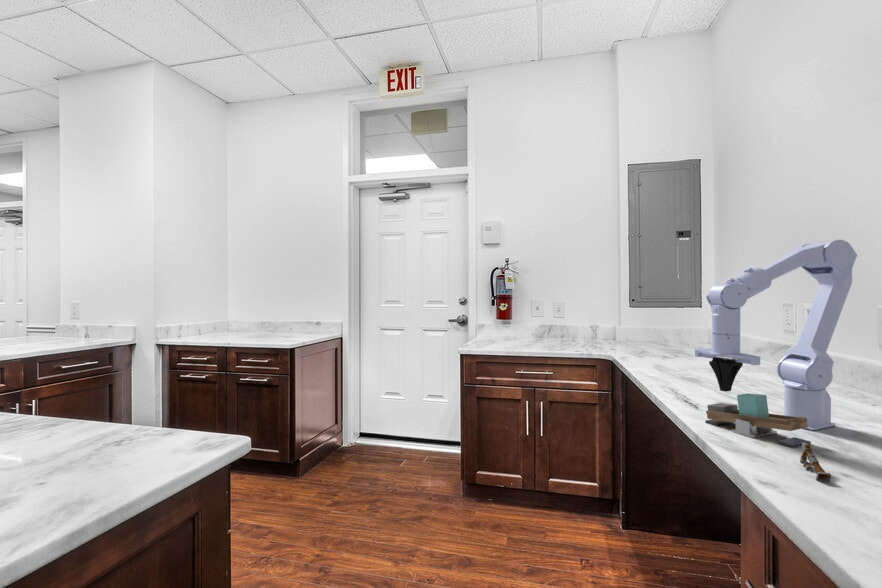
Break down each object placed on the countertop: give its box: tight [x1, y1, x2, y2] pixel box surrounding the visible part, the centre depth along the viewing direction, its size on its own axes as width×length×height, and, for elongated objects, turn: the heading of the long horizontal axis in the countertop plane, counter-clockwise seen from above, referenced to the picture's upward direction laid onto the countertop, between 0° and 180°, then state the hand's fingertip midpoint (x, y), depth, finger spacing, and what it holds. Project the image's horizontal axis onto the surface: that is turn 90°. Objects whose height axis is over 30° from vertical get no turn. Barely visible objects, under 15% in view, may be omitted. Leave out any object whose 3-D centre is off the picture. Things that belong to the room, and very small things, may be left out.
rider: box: [736, 393, 770, 418], centre depth 100 cm, size 4×4×5 cm
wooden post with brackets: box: [799, 443, 832, 483], centre depth 78 cm, size 2×8×4 cm, turn 162°
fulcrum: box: [705, 418, 812, 449], centre depth 100 cm, size 8×19×3 cm, turn 24°
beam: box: [705, 402, 808, 432], centre depth 100 cm, size 6×18×4 cm, turn 24°
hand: (725, 390), depth 106 cm, fingers closed
